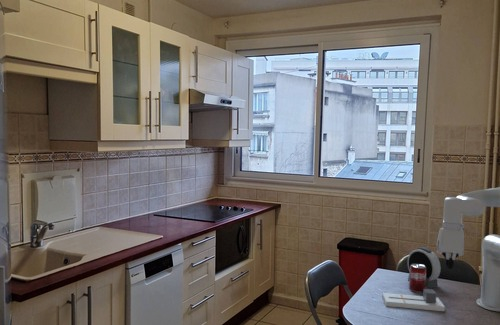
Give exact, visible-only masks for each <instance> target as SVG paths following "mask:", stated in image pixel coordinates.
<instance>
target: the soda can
mask: <svg viewBox="0 0 500 325" xmlns="http://www.w3.org/2000/svg"><path fill="white" fill-rule="evenodd" d="M426 270H427V268H426V266H424V265H421V264H411V266H410V271H409V274H410V280H409V281H408V289H409V290H410V291H412V292H414V293H417V294H419V293H420V294H421V293H422V294H423V290H424V289H426V288H425V287H426Z"/></svg>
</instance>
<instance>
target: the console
mask: <svg viewBox="0 0 500 325" xmlns="http://www.w3.org/2000/svg"><path fill="white" fill-rule="evenodd" d="M381 296H382V300H383V302H384V305H385V306H386V307H394V308H405V309H415V310H426V311H437V312H445V308H446V307H445V305H444V303H443V302H442V301H441V299H440V298H439V297H436V303H432V302H426V301H425V300H424V298H423V295H414V294H413V295H412V294H400V293H387V292H382V295H381Z"/></svg>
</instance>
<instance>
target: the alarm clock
mask: <svg viewBox="0 0 500 325" xmlns="http://www.w3.org/2000/svg"><path fill="white" fill-rule="evenodd" d="M406 262H407V268H408V271H409V272H410V266H411V264H421V265H424V266H426V268H427V270H426V287H425V289H433V288H437V287H438V286H439V285H438V278H439V276H440V274H441V270H442V268H441V262H440V259H439V257H438V256H437V254H436V253H435V252H433V251H432V250H431V249H430V248H428V247H426V246H422V247H421V246H420V247H417V249H414V250H412V251H410V253H409V254H408V257H407V261H406ZM409 280H410V273H409V274H408V278H407V281H408V282H409Z"/></svg>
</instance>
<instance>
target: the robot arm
mask: <svg viewBox="0 0 500 325" xmlns="http://www.w3.org/2000/svg"><path fill="white" fill-rule="evenodd" d="M486 207H491V208H500V186H497V187H495V188H487V189H480V190H479V189H478V190H473V191H469V192H465V193H462V194H459V195H457V196H456V197H455V196H447V197H445V198H444V200H443V213H442V223H441V224H442V226H441V227H440V228H439V231H438V235H437V240H436V249H437V250H436V253H437V254H438V255H441V256H443V257H444V259H445V260H444V261H445V262H444V266H445V267H446V269H447V270H448V269H449V270H452V269H453V267H454V262H455V260H456V259H457V258H458V257H463V256H464V255H465V253H464V252H465V233H464V230H463V229H464V228H466V226H467V225H466V224H464V223H463V217H464V215H465V216H469V217H479V216H481V215H482V214H483V213H484V212H485V210H486ZM481 253H482V271H481V272H482V273H481V288H480V298H477V299H476V302H475V303H476V304H477V306H478V307H481V308H483V309H486V310H488V311H494V312H498V313H499V312H500V235H499V234H495V233H494V234H488V235H486V236H485V237H484V238H483V239H482V242H481Z"/></svg>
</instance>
